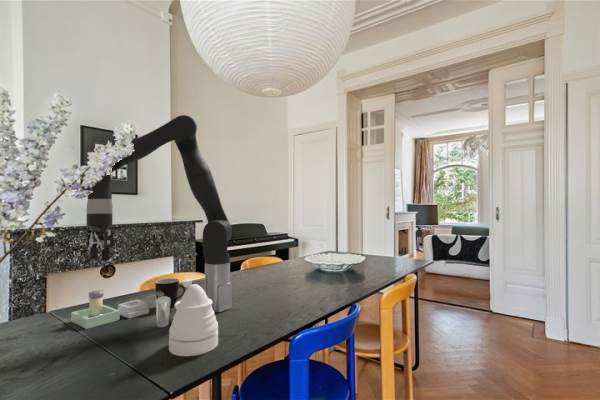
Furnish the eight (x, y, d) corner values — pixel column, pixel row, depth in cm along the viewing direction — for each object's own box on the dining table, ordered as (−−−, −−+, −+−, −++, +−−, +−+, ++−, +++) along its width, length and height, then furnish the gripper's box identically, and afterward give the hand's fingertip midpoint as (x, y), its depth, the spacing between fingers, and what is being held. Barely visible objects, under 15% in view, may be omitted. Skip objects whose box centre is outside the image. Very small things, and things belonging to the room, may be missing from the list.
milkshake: (152, 324, 102) (152, 293, 102) (170, 322, 104) (170, 291, 104) (152, 329, 98) (152, 297, 98) (170, 326, 100) (170, 295, 100)
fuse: (105, 318, 106) (105, 291, 107) (91, 321, 103) (91, 294, 103) (99, 315, 109) (100, 289, 109) (86, 319, 105) (86, 292, 106)
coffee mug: (150, 307, 120) (151, 281, 120) (172, 302, 126) (173, 277, 127) (164, 314, 112) (164, 285, 112) (186, 308, 118) (187, 281, 119)
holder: (149, 312, 113) (149, 303, 114) (129, 318, 108) (129, 308, 108) (136, 308, 119) (136, 299, 119) (116, 313, 113) (116, 303, 113)
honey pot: (169, 360, 78) (169, 287, 78) (168, 340, 90) (169, 277, 90) (221, 350, 83) (222, 282, 83) (214, 333, 95) (214, 273, 95)
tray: (119, 319, 106) (119, 310, 107) (86, 329, 98) (86, 319, 98) (103, 313, 113) (103, 304, 113) (71, 321, 105) (71, 312, 105)
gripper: (121, 212, 107) (121, 260, 106) (102, 212, 115) (101, 256, 114) (97, 212, 100) (96, 263, 100) (78, 212, 108) (78, 259, 108)
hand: (99, 259), depth 107 cm, fingers open, 8 cm apart
